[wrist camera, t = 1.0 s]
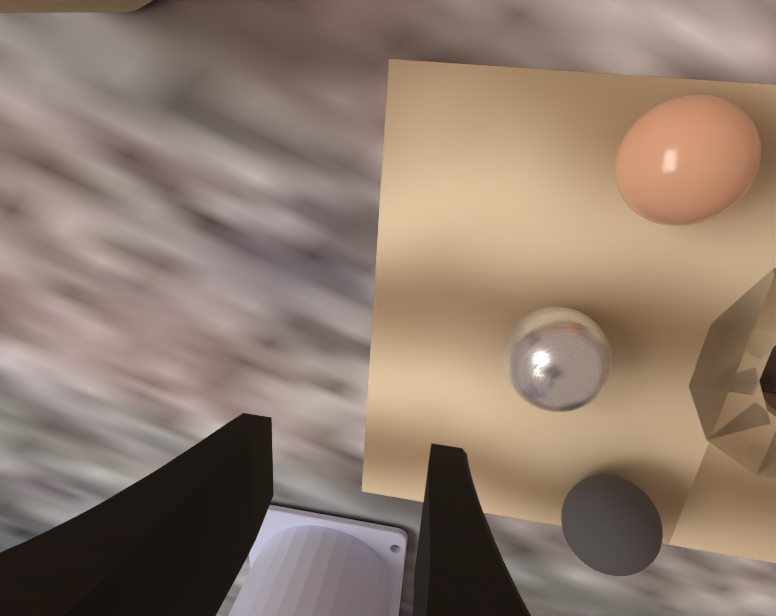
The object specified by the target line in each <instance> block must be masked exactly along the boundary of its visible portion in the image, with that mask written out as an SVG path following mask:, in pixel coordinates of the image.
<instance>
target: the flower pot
mask: <svg viewBox="0 0 776 616" xmlns="http://www.w3.org/2000/svg"><path fill="white" fill-rule="evenodd" d="M151 1H152V0H0V13H54V12H110V13H125V12H131V11H135V10H137V9H139V8H141V7H143V6H145V5H146V4H148V3H149V2H151Z"/></svg>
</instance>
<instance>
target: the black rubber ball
mask: <svg viewBox="0 0 776 616" xmlns="http://www.w3.org/2000/svg"><path fill="white" fill-rule="evenodd" d="M561 523H562V529H563V533H564V536H565V538H566V540H567V543H568V544H569V546H570V548H571V549H572V551H573V552H574V553H575V554H576V556H577V557H578V558H579V559H580V560H581V561H583V562H584V563H585V564H587V565H588V566H589V567H591V568H593V569H594V570H597V571H599V572H601V573H604V574H608V575H614V576H627V575H632V574H635V573H638V572H640V571H642V570H644V569H645V568H647V567H648V566H649V565H650V564H651V563H652V562H653V561H654V559H655V558H656V556H657V555H658V553H659V551H660V548H661V544H662V538H663V529H662V522H661V518H660V515H659V513H658V511H657V508H656V507H655V505H654V503H653V502H652V500H651V499H650V498H649V496H648V495H647V494H646V493H645V492H644V491H643V490H642V489H640V488H639V487H638V486H636V485H635V484H633V483H632V482H630V481H628V480H626V479H623V478H620V477H617V476H613V475H596V476H591V477H588V478H586V479H583V480H582V481H580V482H578V483H577V484H576V485H575V486H574V487H573V488H572V489H571V490H570V491H569V493H568V494H567V496H566V498H565V500H564V503H563V506H562V511H561Z"/></svg>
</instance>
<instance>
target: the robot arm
mask: <svg viewBox="0 0 776 616" xmlns="http://www.w3.org/2000/svg"><path fill="white" fill-rule="evenodd" d="M272 497H273V460H272V422H271V418H270V417H264V416H258V415H252V414H245V413H243V414H241V415H240V416H238V417H236V418H235V419H233V420H232V421H230V422H229V423H227V424H226V425H224V426H223V427H221V428H220V429H218V430H217V431H215V432H214V433H212V434H211V435H209V436H208V437H207V438H205V439H204V440H202V441H201V442H199V443H198V444H196V445H195V446H193V447H192V448H190V449H188V450H187V451H185V452H184V453H182V454H181V455H179V456H178V457H176V458H175V459H173V460H172V461H170V462H169V463H167V464H166V465H164V466H162V467H161V468H159V469H158V470H156V471H155V472H153V473H151V474H149V475H148V476H146V477H144V478H143V479H141V480H139V481H138V482H136V483H134V484H133V485H131V486H129V487H128V488H126V489H124V490H123V491H121V492H119V493H118V494H116V495H114V496H113V497H111V498H109V499H108V500H106V501H104V502H102V503H100V504H99V505H97V506H95V507H93V508H91V509H89V510H88V511H86V512H84V513H82V514H80V515H78V516H76V517H74V518H72V519H70V520H68V521H66V522H64V523H62V524H61V525H59V526H57V527H55V528H53V529H51V530H49V531H47V532H45V533H43V534H41V535H38V536H36V537H34V538H32V539H30V540H28V541H26V542H23V543H21V544H19V545H17V546H14V547H12V548H10V549H8V550H5V551H3V552H1V553H0V616H216V614H217V612H218V610H219V608H220V606H221V605H222V603H223V601H224V599H225V597H226V595H227V593H228V592H229V590H230V588H231V586H232V584H233V582H234V581H235V579H236V577H237V575H238V573H239V571H240V569H241V567H242V566H243V564H244V562H245V560H246V558H247V556H248V554H249V558H250V572H249V574H248V576H247V578H246V580H245V582H244V584H243V586H242V588H241V590H240V592H239V595H238V597H237V599H236V601H235V603H234V605H233V607H232V609H231V611H230V613H229V615H228V616H399V608H400V599H401V591H402V582H403V573H404V564H405V556H406V547H407V538H408V537H407V534H406V532H405V531H404V530H402V529H400V528H396V527H390V526H385V525H379V524H374V523H368V522H363V521H357V520H352V519H346V518H341V517H335V516H330V515H324V514H319V513H313V512H308V511H302V510H297V509H291V508H286V507H280V506H274V505H270V503H271V500H272ZM394 545H397V546H399V547H396V546H394ZM413 616H531V615H530V613H529V612H528V610H527V608H526V606H525V604H524V602H523V600H522V598H521V596H520V594H519V592H518V590H517V588H516V586H515V584H514V582H513V580H512V578H511V576H510V574H509V572H508V569H507V567H506V565H505V563H504V561H503V559H502V557H501V554H500V552H499V550H498V547H497V545H496V543H495V540H494V538H493V535H492V533H491V530H490V528H489V525H488V523H487V520H486V518H485V515H484V513H483V510H482V507H481V504H480V502H479V499H478V496H477V492H476V489H475V486H474V483H473V479H472V476H471V472H470V468H469V463H468V458H467V453H466V452H465V451H464V450H463V448H458V447H452V446H446V445H440V444H433V443H431V448H430V456H429V463H428V471H427V479H426V487H425V494H424V502H423V510H422V518H421V526H420V534H419V542H418V550H417V558H416V566H415V577H414V602H413Z"/></svg>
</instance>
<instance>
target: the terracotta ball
mask: <svg viewBox="0 0 776 616" xmlns="http://www.w3.org/2000/svg"><path fill="white" fill-rule="evenodd" d="M760 160H761V141H760V137H759V134H758V131H757V129H756V127H755V125H754V123H753V121H752V120H751V118H750V117H749V116H748V115H747V114H746V113H745V112H744V111H743V110H742V109H741V108H739V107H738V106H736V105H735V104H733V103H732V102H730V101H727V100H725V99H723V98H719V97H716V96H710V95H686V96H680V97H676V98H673V99H670V100H667V101H664V102H662V103H660V104H658V105H656V106H654V107H653V108H651V109H650V110H648V111H647V112H646V113H644V114H643V115H642V116H641V117H639V118H638V119H637V120H636V121H635V122H634V123H633V125H632V126H631V127H630V128H629V130H628V131H627V132H626V134H625V135H624V137H623V139H622V141H621V143H620V145H619V147H618V151H617V154H616V159H615V168H614V172H615V180H616V184H617V188H618V191H619V193H620V195H621V197H622V198H623V200H624V201H625V203H626V204H627V205H628V206H629V207H630V208H631V209H632V210H633V211H634V212H635V213H636V214H638V215H639V216H641V217H642V218H645V219H647V220H649V221H651V222H654V223H657V224H660V225H667V226H689V225H694V224H699V223H702V222H705V221H708V220H711V219H713V218H715V217H717V216H719V215H721V214H723V213H724V212H726V211H727V210H729V209H730V208H731V207H733V206H734V205H735V204H736V203H737V202H738V201H739V200H740V199H741V198H742V197H743V196H744V195H745V194H746V192H747V191H748V189H749V188H750V187H751V185H752V183H753V181H754V179H755V177H756V175H757V172H758V169H759V165H760Z"/></svg>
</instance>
